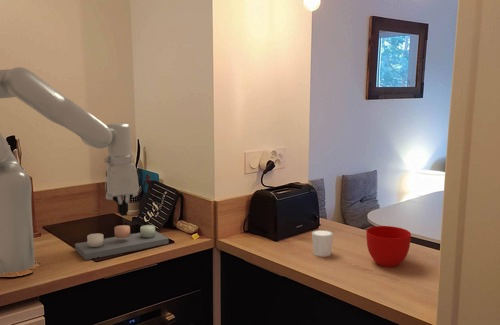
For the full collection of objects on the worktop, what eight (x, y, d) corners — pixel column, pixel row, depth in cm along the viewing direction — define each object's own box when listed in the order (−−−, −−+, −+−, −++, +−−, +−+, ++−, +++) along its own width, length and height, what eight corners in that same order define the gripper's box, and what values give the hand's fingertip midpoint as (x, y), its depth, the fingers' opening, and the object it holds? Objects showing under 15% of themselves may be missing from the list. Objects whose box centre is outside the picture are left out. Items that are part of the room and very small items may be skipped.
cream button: (90, 248, 145) (89, 238, 145) (85, 243, 149) (85, 235, 149) (105, 245, 148) (105, 236, 148) (101, 241, 152) (100, 232, 152)
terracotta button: (117, 239, 150) (117, 230, 150) (112, 235, 154) (112, 226, 154) (132, 236, 153) (132, 227, 153) (127, 232, 157) (126, 224, 157)
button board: (85, 260, 142) (85, 253, 141) (75, 249, 151) (74, 243, 151) (168, 244, 158) (168, 238, 157) (154, 235, 167) (154, 230, 167)
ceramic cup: (416, 256, 146) (417, 226, 144) (404, 274, 131) (405, 241, 130) (375, 249, 152) (376, 220, 151) (360, 266, 138) (360, 234, 136)
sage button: (143, 238, 156) (143, 229, 155) (138, 234, 160) (138, 226, 159) (157, 235, 159) (157, 227, 158) (151, 232, 163) (151, 224, 162)
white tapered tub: (332, 257, 145) (333, 236, 144) (310, 256, 146) (311, 235, 145) (333, 250, 151) (333, 230, 150) (312, 249, 153) (312, 229, 152)
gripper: (101, 164, 143) (104, 221, 146) (146, 159, 152) (148, 213, 154) (93, 161, 149) (97, 216, 152) (137, 157, 158) (140, 209, 160)
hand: (123, 214), depth 153 cm, fingers closed
